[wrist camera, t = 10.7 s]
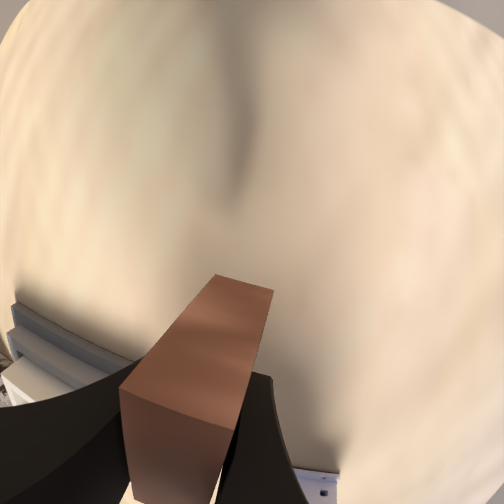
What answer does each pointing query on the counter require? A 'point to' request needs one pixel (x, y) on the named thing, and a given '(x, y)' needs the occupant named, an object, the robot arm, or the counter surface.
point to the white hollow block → (32, 383)
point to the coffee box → (3, 400)
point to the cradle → (60, 349)
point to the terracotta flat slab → (192, 394)
